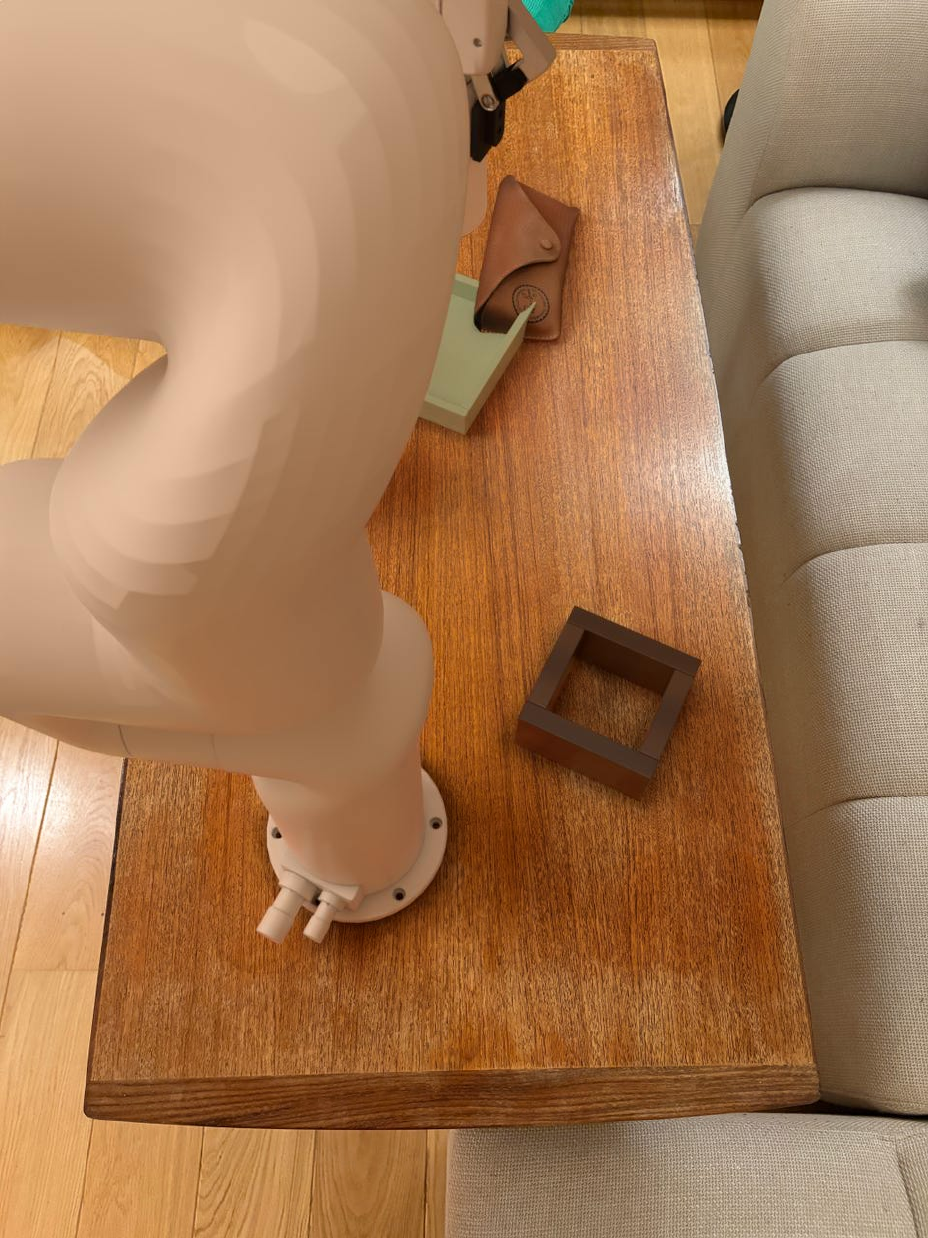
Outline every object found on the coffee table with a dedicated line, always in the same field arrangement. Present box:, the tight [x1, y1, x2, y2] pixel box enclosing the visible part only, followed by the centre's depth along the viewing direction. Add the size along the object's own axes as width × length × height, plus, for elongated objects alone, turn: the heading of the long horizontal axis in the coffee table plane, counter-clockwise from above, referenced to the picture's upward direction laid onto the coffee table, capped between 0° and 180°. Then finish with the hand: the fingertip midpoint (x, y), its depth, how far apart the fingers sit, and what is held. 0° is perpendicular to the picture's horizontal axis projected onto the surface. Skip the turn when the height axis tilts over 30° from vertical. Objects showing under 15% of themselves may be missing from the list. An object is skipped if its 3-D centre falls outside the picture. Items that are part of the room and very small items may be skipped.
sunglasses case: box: [473, 174, 581, 342], centre depth 95 cm, size 18×7×7 cm
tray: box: [418, 272, 536, 436], centre depth 91 cm, size 15×15×3 cm
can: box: [461, 75, 488, 239], centre depth 70 cm, size 6×6×12 cm
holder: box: [513, 605, 703, 802], centre depth 74 cm, size 10×10×5 cm
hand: (437, 130), depth 69 cm, fingers closed on can, 6 cm apart
